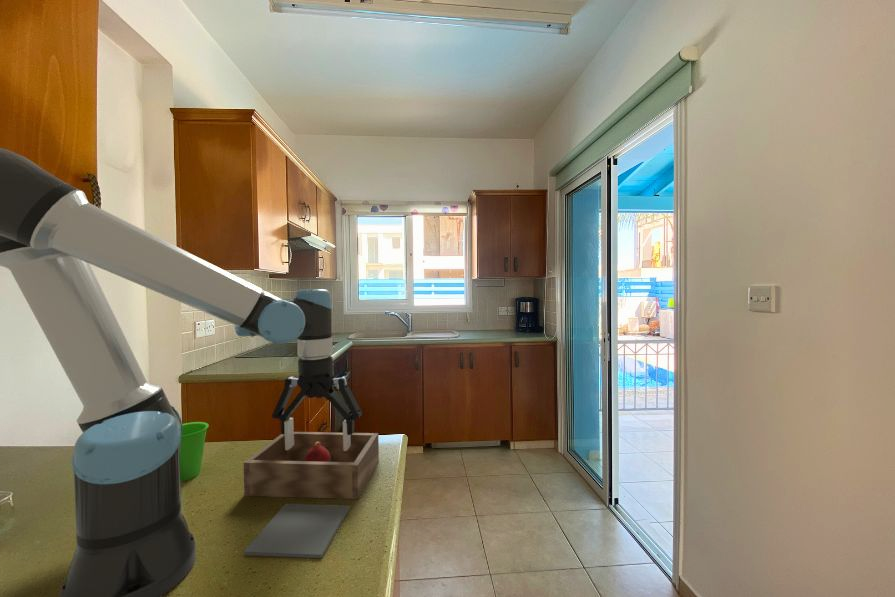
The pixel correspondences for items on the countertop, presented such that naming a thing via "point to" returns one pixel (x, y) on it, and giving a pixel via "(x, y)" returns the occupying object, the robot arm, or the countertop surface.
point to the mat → (299, 531)
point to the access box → (312, 467)
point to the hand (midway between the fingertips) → (318, 448)
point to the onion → (318, 454)
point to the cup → (192, 449)
